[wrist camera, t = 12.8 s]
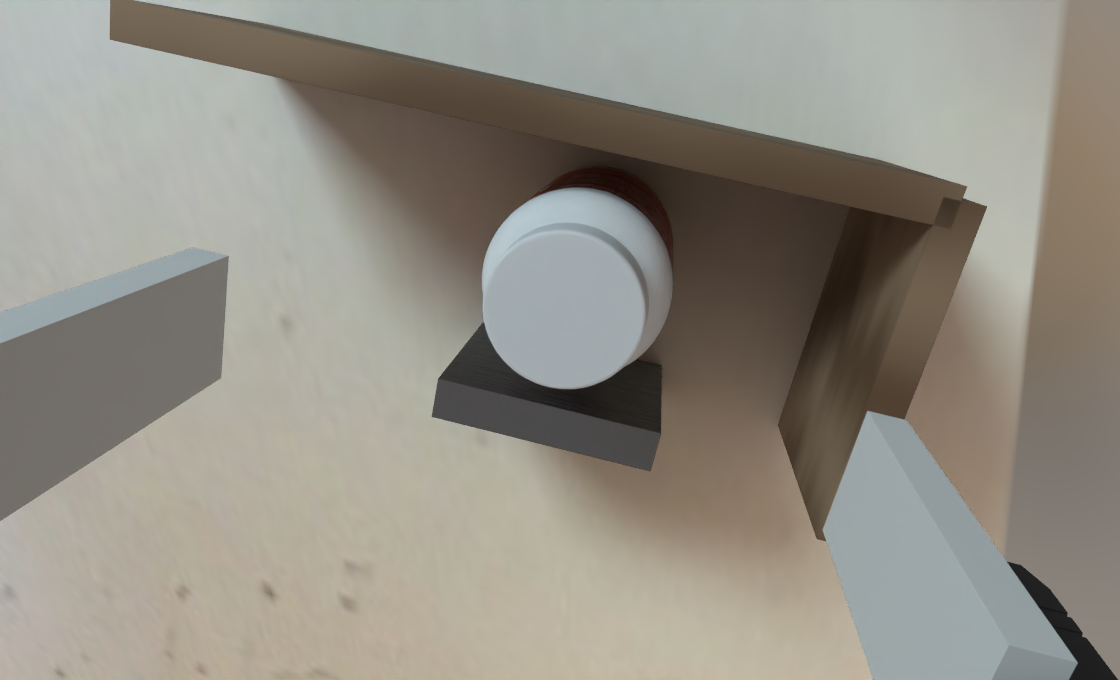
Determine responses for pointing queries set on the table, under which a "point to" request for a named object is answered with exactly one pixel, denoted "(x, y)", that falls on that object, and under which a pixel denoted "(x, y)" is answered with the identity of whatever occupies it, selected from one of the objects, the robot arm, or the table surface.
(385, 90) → the wooden corner wall
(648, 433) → the dark rectangular block
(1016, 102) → the table surface
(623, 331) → the pill bottle
